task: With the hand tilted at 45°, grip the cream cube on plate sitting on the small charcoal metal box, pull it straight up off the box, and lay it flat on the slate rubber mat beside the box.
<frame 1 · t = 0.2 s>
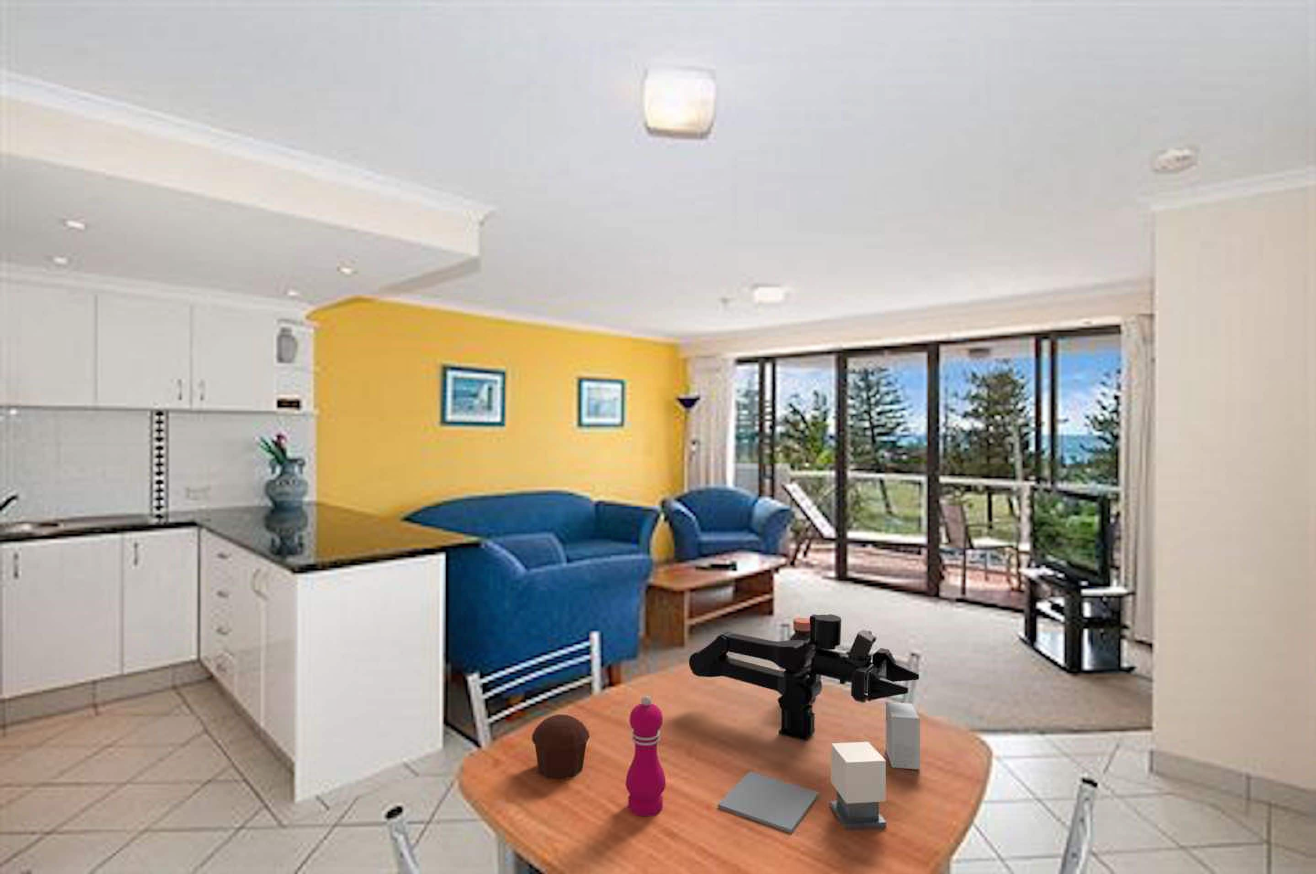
hand: (913, 683, 134), 17 cm above the table, tool horizontal, fingers open, 9 cm apart
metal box: (857, 817, 115), on the table
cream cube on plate: (857, 791, 115), point 4 cm above the table, touching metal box
bottle: (802, 698, 168), on the table
mat: (769, 801, 119), on the table
muffin: (560, 769, 131), on the table
pepper mill: (645, 808, 117), on the table
small box: (902, 761, 135), on the table
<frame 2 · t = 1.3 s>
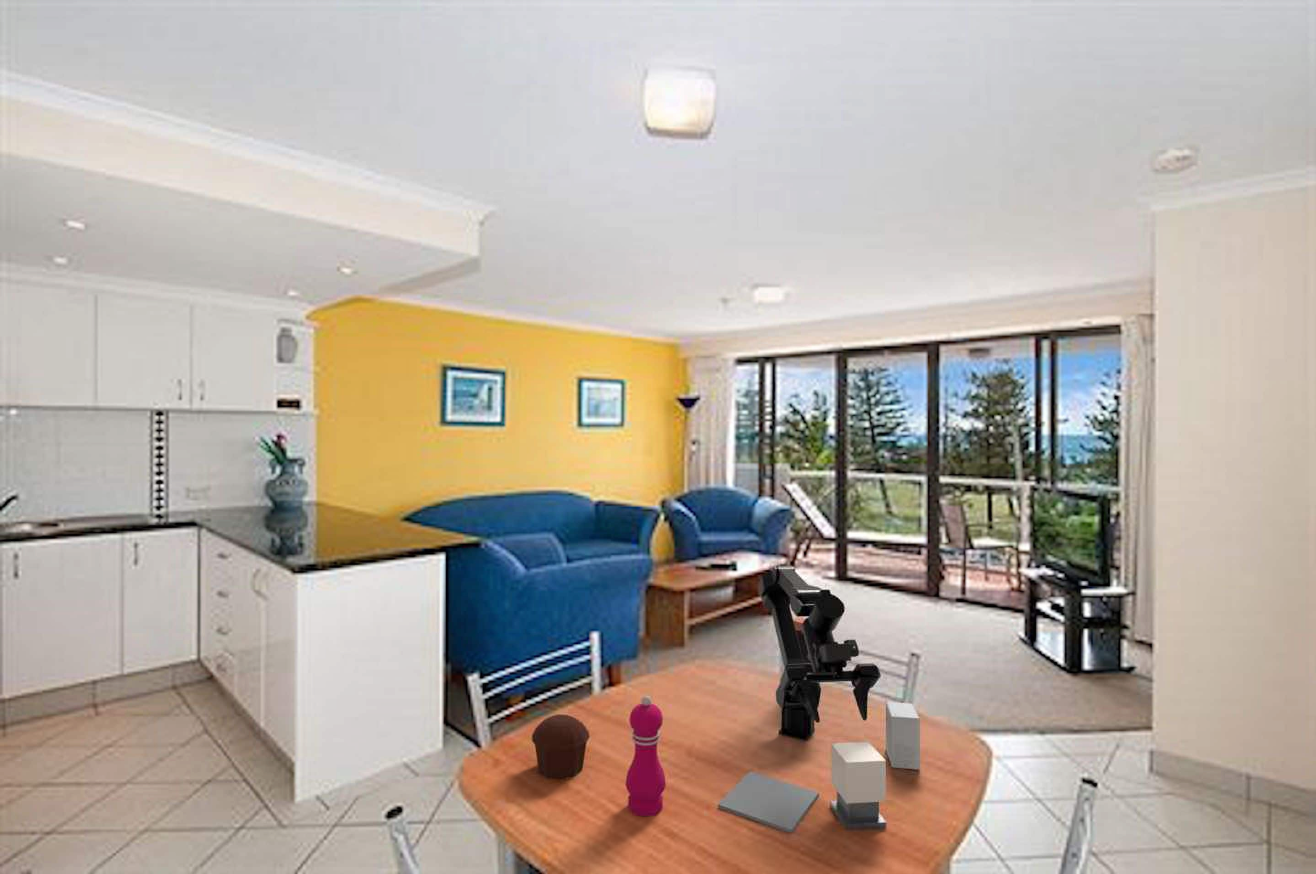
hand: (841, 720, 122), 14 cm above the table, tool tilted 45°, fingers open, 9 cm apart
nothing on the table moved.
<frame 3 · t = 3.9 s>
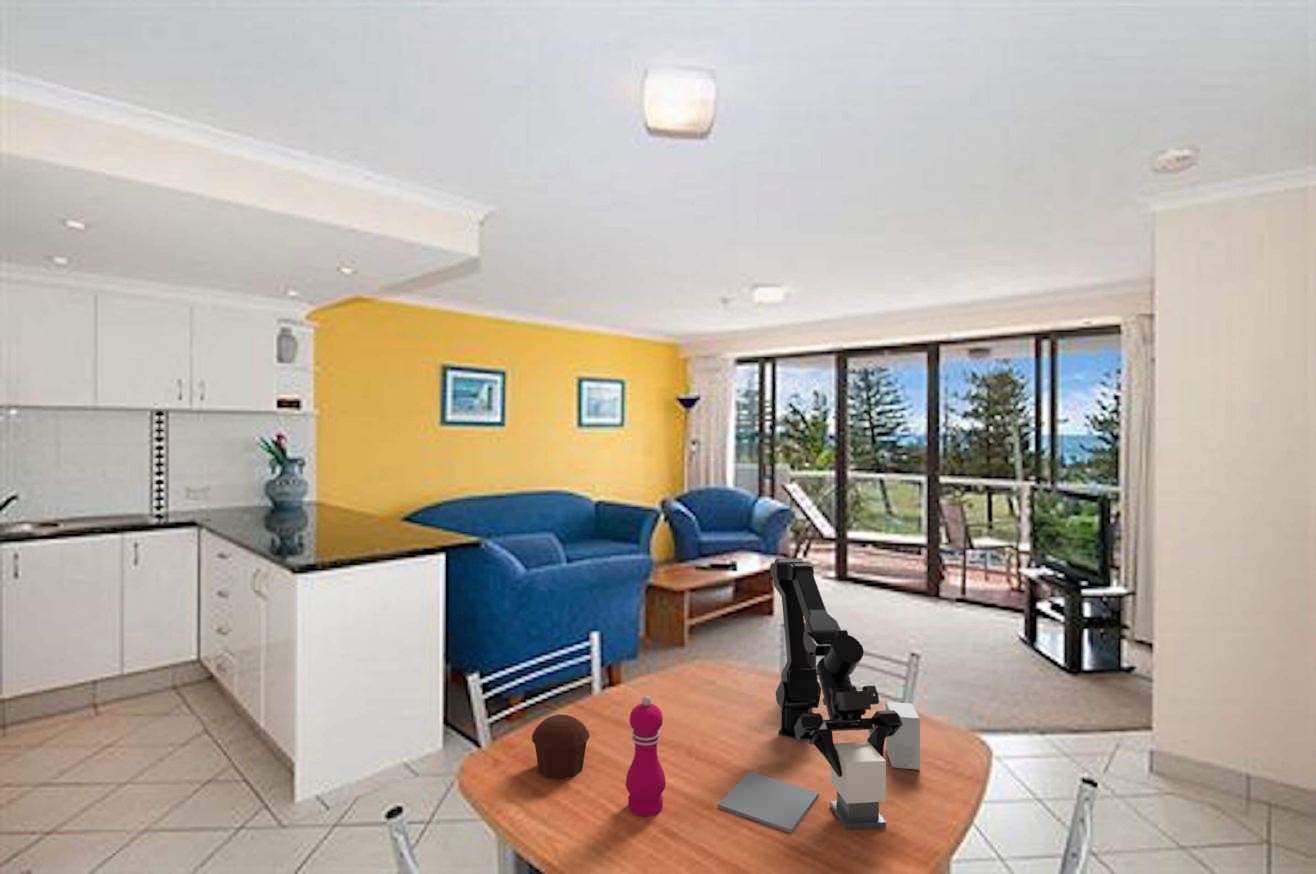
hand: (860, 775, 113), 8 cm above the table, tool tilted 45°, fingers closed on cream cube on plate, 7 cm apart
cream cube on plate: (857, 791, 115), point 5 cm above the table, touching gripper, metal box
everything else where it was.
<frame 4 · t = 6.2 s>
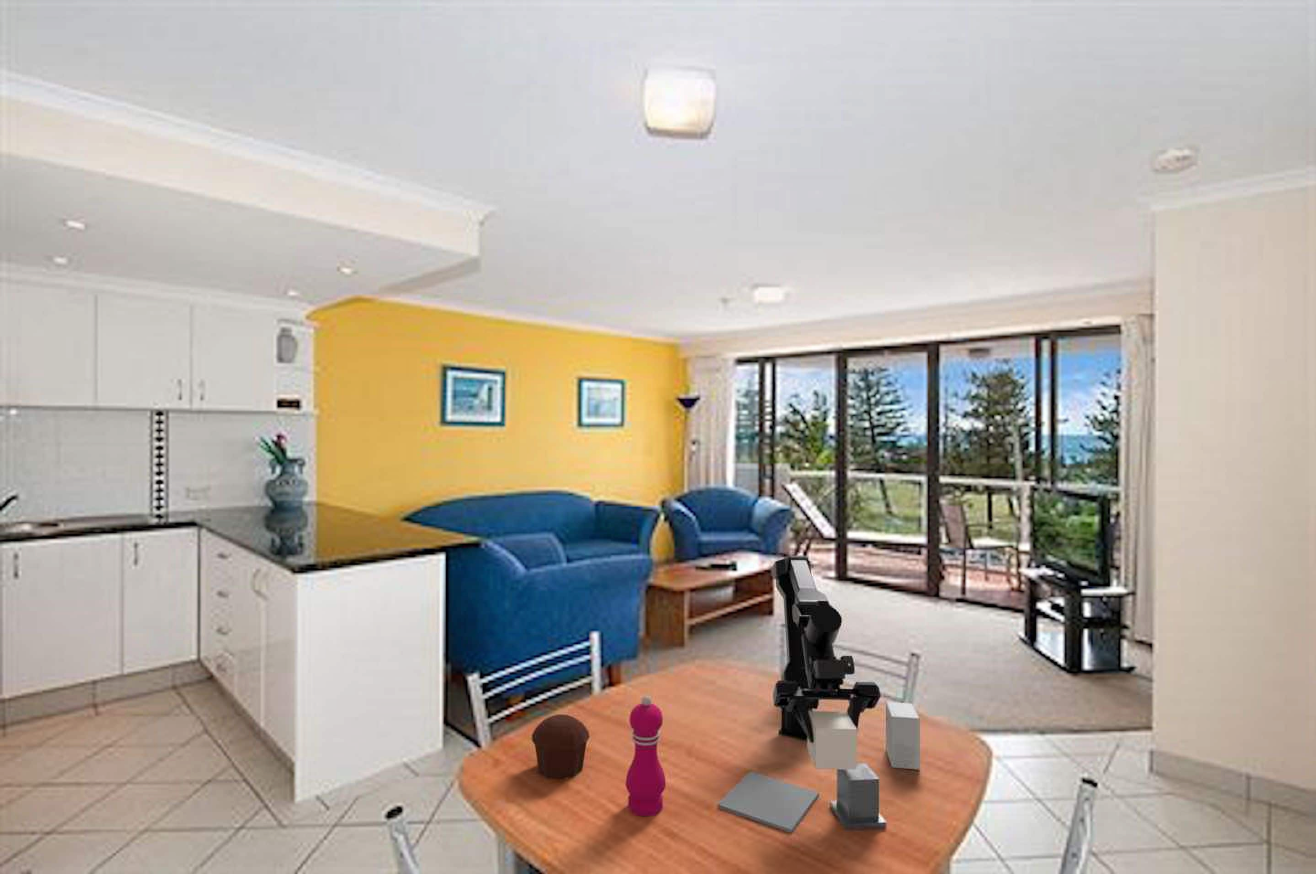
hand: (833, 742, 114), 13 cm above the table, tool tilted 45°, fingers closed on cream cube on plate, 7 cm apart
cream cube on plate: (831, 759, 115), point 10 cm above the table, touching gripper
everything else where it was.
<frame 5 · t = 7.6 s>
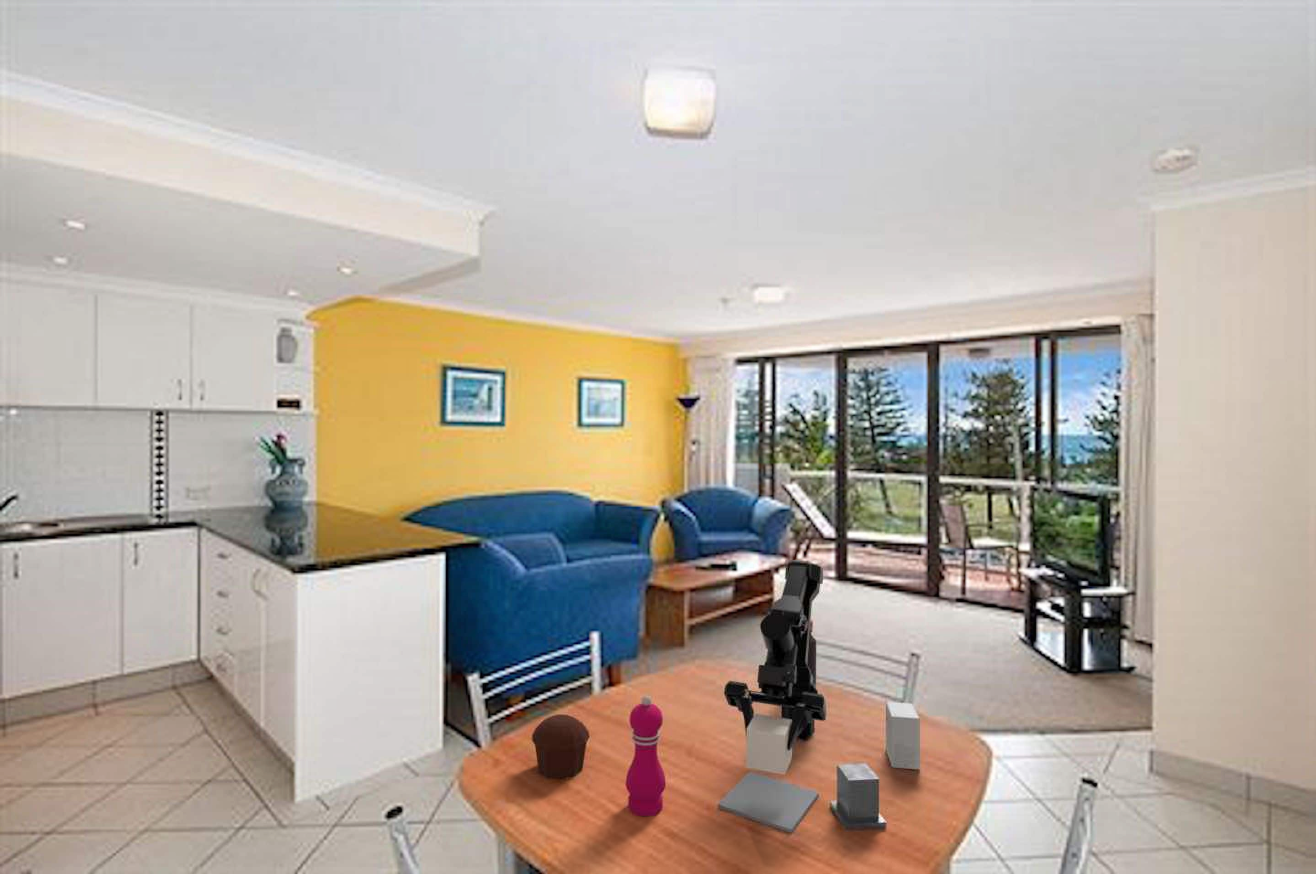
hand: (768, 745, 118), 11 cm above the table, tool tilted 45°, fingers closed on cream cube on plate, 7 cm apart
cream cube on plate: (769, 762, 120), point 7 cm above the table, touching gripper
everything else where it was.
when the fingers open (7 cm above the table, at t = 8.8 s): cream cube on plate drops 3 cm, resting on mat.
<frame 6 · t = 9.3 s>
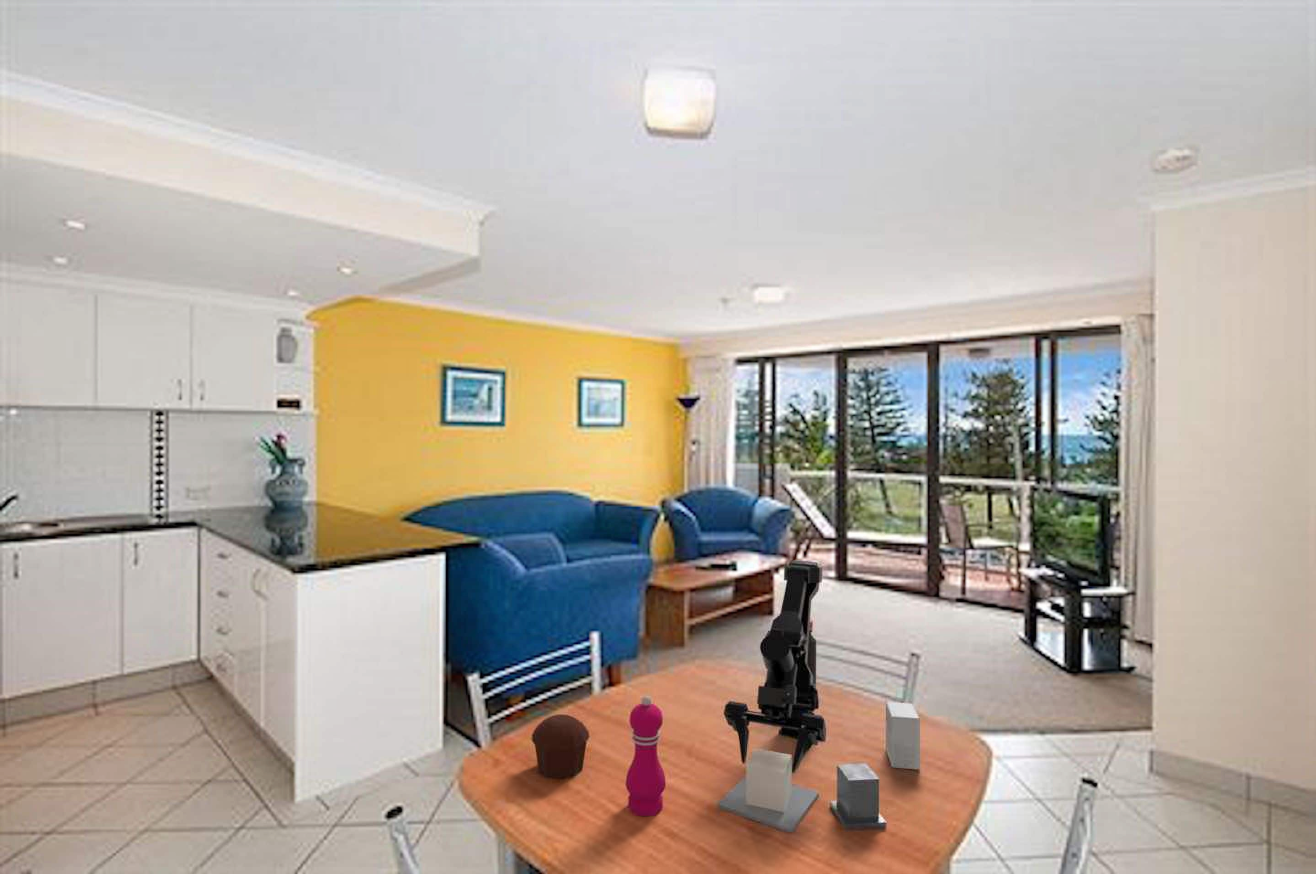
hand: (767, 767, 118), 7 cm above the table, tool tilted 45°, fingers open, 9 cm apart
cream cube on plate: (769, 798, 119), point 1 cm above the table, touching mat
everything else where it was.
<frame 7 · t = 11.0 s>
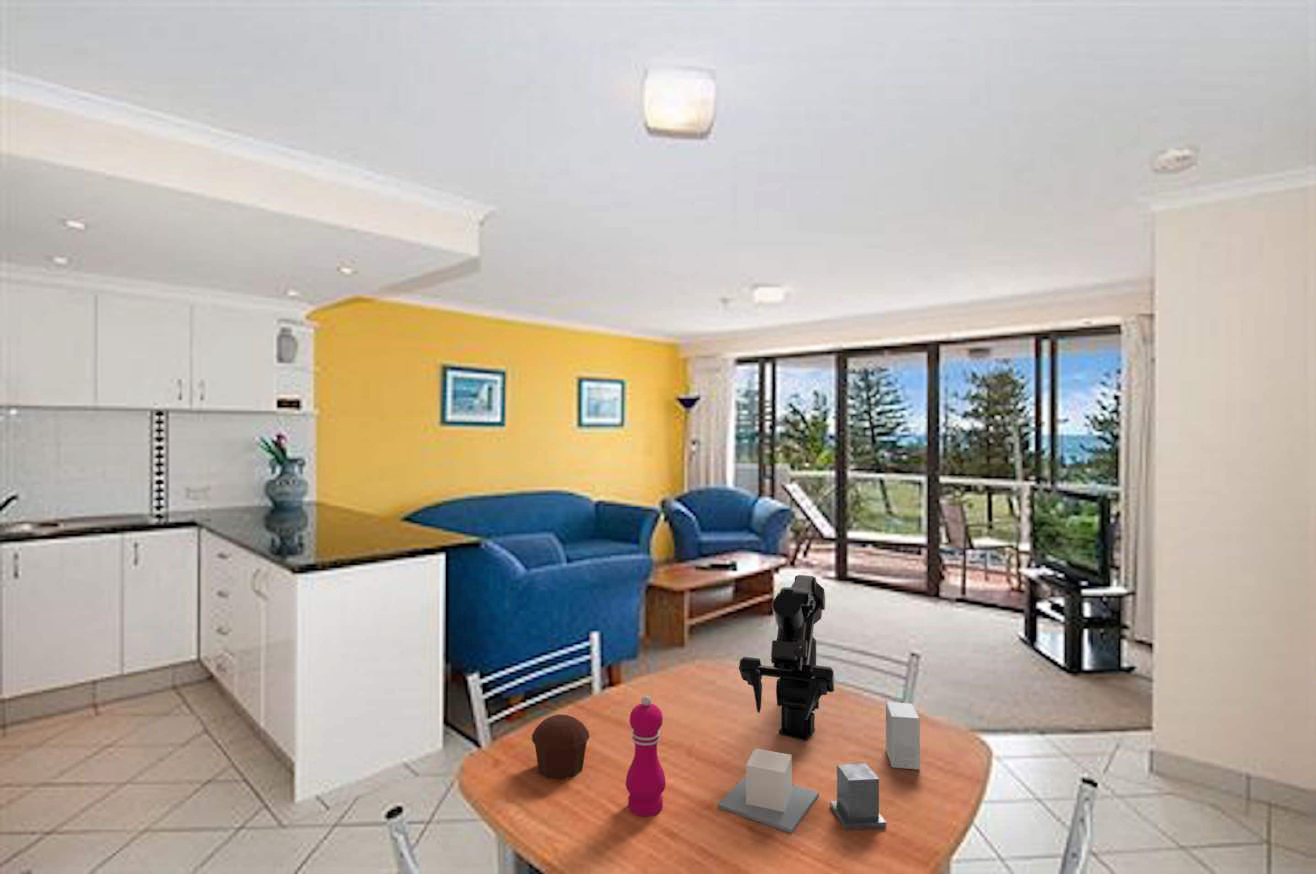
hand: (781, 715, 127), 13 cm above the table, tool tilted 45°, fingers open, 9 cm apart
nothing on the table moved.
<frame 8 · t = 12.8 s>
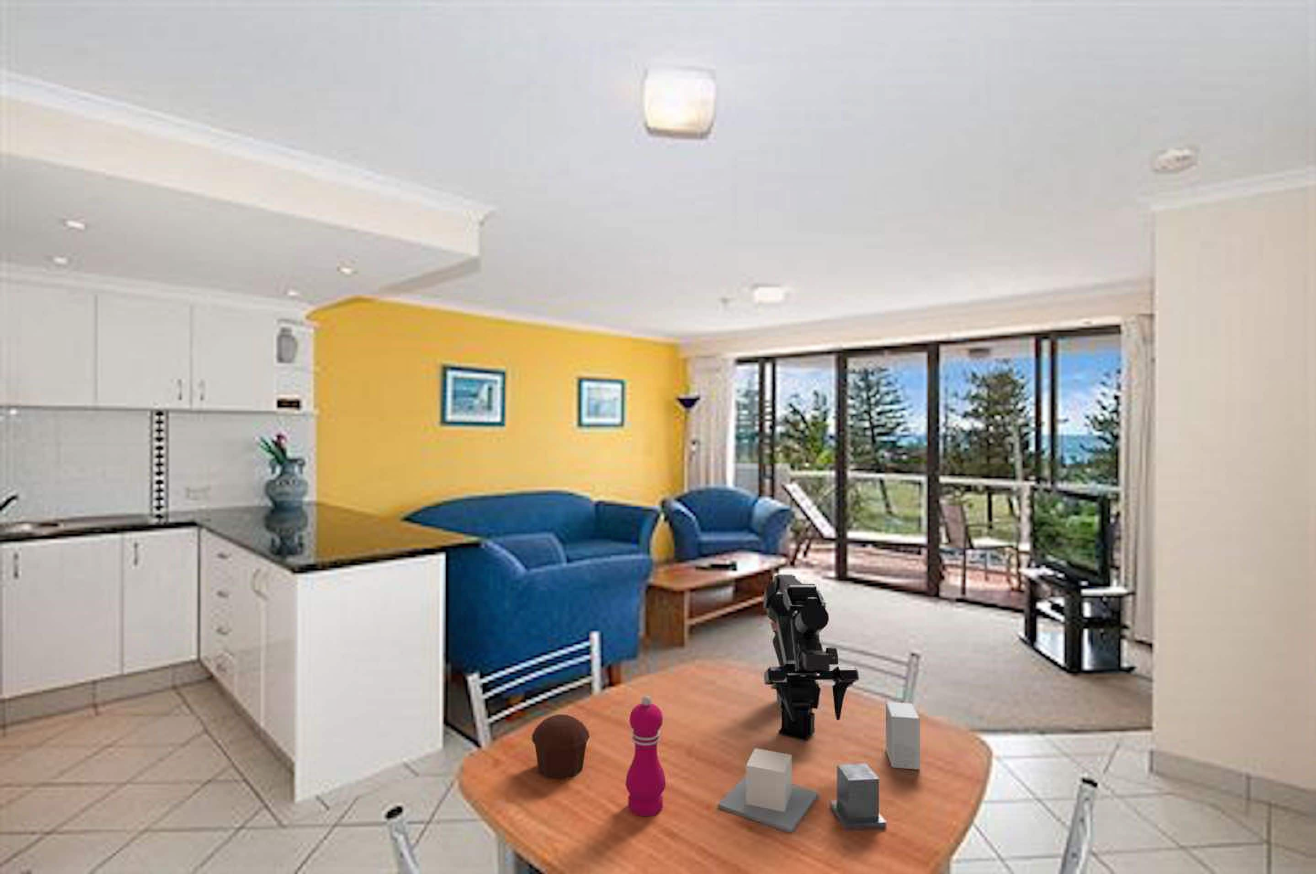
hand: (815, 720, 132), 10 cm above the table, tool tilted 30°, fingers open, 9 cm apart
bottle: (802, 694, 168), point 1 cm above the table, touching arm
everything else where it was.
at the end: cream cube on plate inside the target area on the mat (0.0 cm from its centre), point 0.6 cm above the mat's base; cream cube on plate tilted 0°; the gripper is holding nothing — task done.
